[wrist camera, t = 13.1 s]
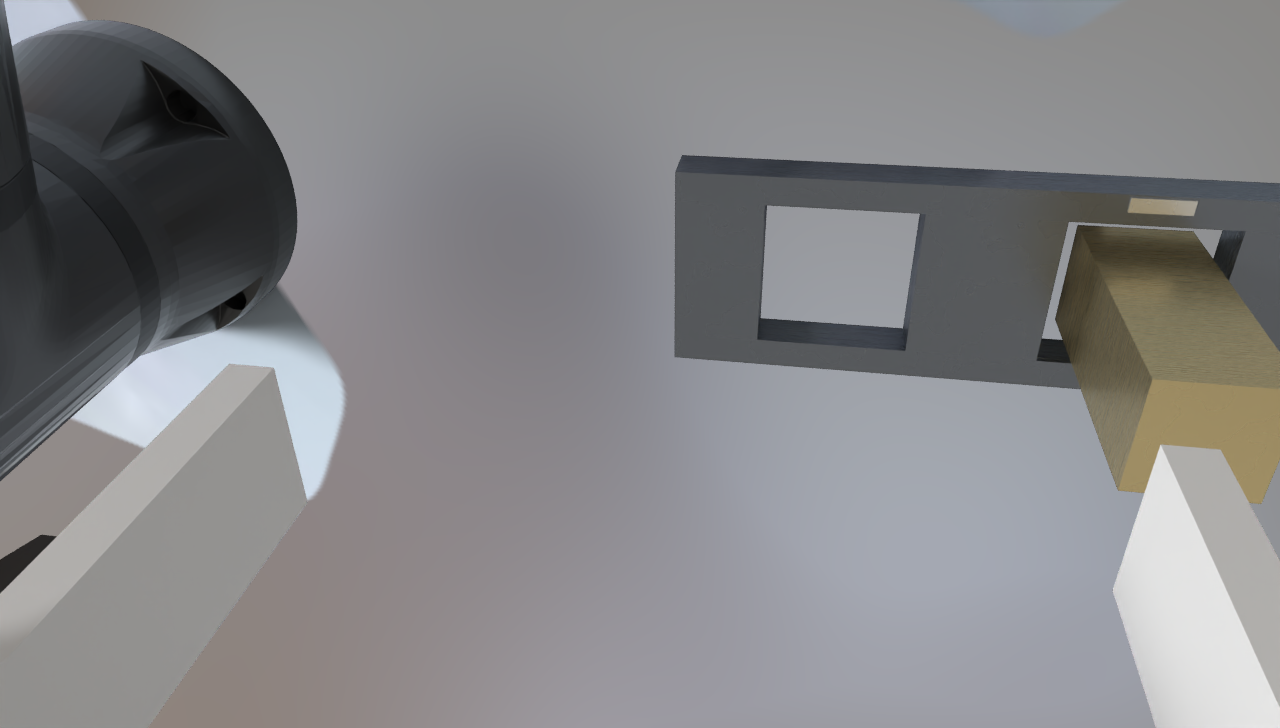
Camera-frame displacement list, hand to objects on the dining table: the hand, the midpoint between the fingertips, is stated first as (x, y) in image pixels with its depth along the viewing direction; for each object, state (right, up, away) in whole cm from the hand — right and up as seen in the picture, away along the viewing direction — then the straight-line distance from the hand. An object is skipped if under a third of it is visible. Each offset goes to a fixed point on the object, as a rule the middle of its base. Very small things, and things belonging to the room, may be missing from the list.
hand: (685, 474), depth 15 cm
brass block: (+20, +5, +27) cm, 34 cm away
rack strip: (+14, +6, +28) cm, 32 cm away
